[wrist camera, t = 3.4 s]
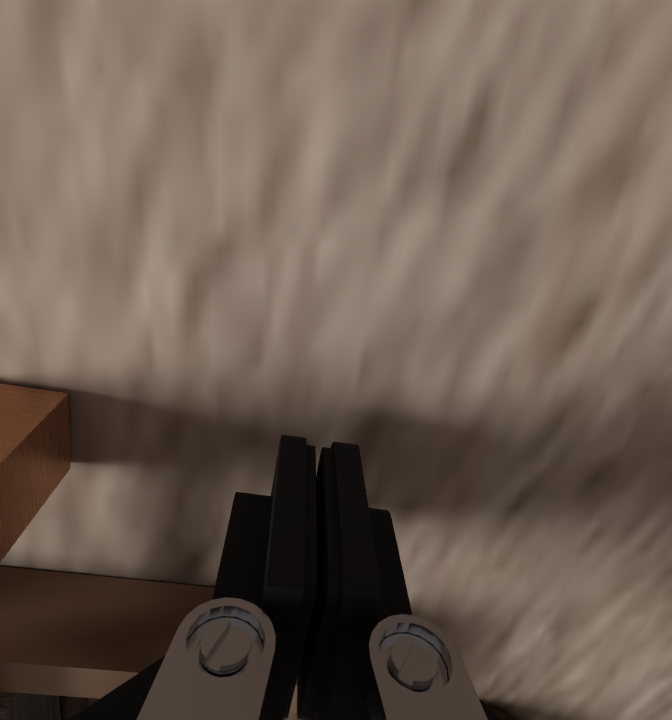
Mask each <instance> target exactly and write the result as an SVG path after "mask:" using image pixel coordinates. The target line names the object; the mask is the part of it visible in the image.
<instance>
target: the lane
mask: <svg viewBox="0 0 672 720" xmlns="http://www.w3.org/2000/svg"><path fill="white" fill-rule="evenodd" d="M214 589H215V588H214V587H204V586H194V585H184V584H174V583H164V582H154V581H144V580H134V579H124V578H114V577H104V576H94V575H84V574H74V573H64V572H54V571H44V570H34V569H24V568H14V567H4V566H0V691H2V692H16V693H29V694H43V695H56V696H70V697H83V698H97V699H100V698H102V697H103V696H105V695H106V694H108V693H109V692H111V691H112V690H114V689H115V688H117V687H118V686H120V685H122V684H123V683H125V682H126V681H128V680H129V679H131V678H132V677H134V676H135V675H137V674H138V673H140V672H141V671H143V670H144V669H146V668H147V667H149V666H150V665H152V664H153V663H155V662H156V661H158V660H159V659H161V658H162V657H164V656H165V655H166V654H167V651H168V649H169V647H170V645H171V642H172V640H173V638H174V636H175V634H176V631H177V629H178V627H179V626H180V624H181V623H182V621H183V620H184V618H185V617H186V615H188V614H189V613H190V612H191V611H192V610H194V609H195V608H196V607H197V606H199V605H201V604H203V603H206V602H208V601H210V600H212V599H213V594H214ZM283 720H302V719H297V681H296V686H295V690H294V694H293V699H292V703H291V707H290V712H289V716H288V718H283Z"/></svg>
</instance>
